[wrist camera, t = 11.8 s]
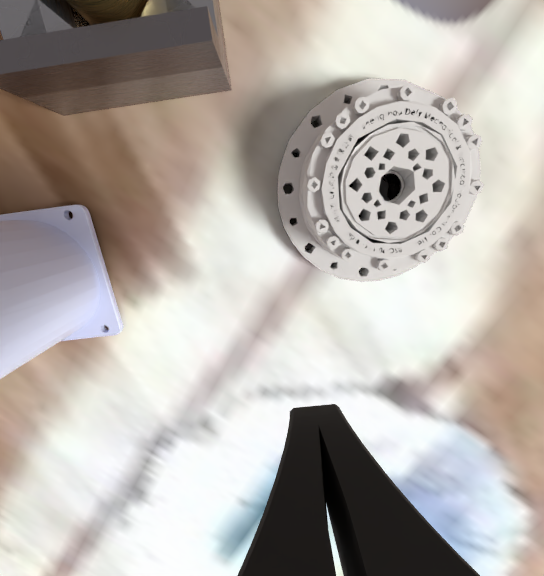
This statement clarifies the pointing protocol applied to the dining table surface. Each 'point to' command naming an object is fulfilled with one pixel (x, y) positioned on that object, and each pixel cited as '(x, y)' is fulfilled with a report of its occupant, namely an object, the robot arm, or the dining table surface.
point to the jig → (111, 55)
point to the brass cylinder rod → (108, 9)
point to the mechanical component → (379, 179)
